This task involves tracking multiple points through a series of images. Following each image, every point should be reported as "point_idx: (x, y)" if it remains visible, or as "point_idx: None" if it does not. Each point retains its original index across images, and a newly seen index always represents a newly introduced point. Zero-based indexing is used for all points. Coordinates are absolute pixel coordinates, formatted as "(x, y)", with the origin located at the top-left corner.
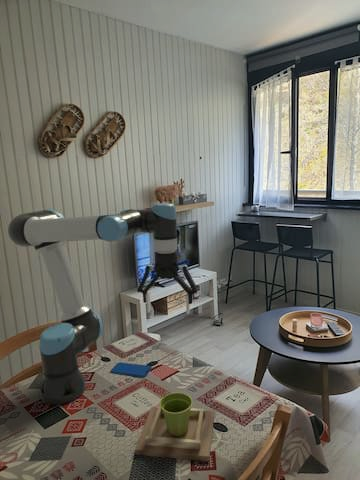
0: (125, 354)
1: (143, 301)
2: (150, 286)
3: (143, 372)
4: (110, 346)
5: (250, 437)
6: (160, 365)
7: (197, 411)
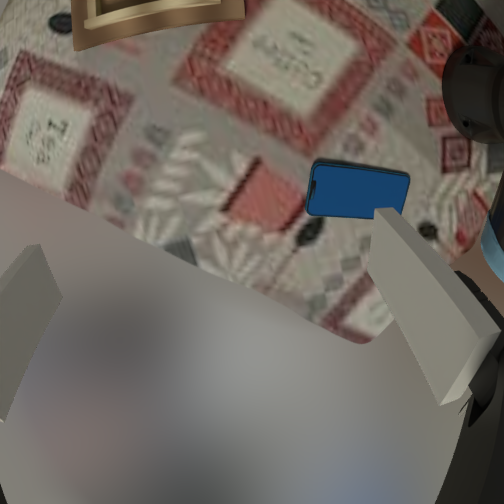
0: None
1: (468, 277)
2: (500, 468)
3: (322, 180)
4: None
5: (10, 26)
6: (283, 227)
7: (103, 14)
